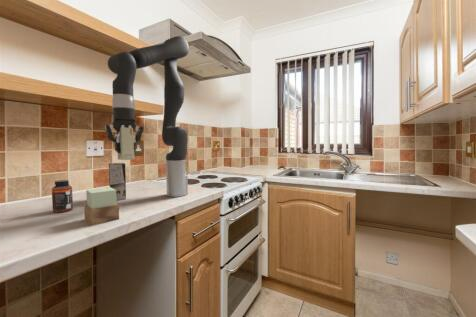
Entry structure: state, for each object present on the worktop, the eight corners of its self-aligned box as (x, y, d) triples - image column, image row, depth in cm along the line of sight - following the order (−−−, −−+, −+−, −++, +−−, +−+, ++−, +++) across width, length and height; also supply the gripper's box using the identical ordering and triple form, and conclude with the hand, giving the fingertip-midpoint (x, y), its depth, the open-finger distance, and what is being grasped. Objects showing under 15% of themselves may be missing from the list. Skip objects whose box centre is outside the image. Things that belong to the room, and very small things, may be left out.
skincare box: (134, 159, 85) (133, 127, 84) (122, 160, 82) (121, 127, 81) (128, 158, 89) (127, 128, 89) (117, 159, 86) (115, 128, 85)
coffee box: (126, 199, 100) (125, 163, 99) (110, 201, 96) (109, 164, 95) (124, 195, 107) (123, 162, 106) (109, 196, 104) (108, 162, 103)
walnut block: (111, 214, 79) (110, 200, 78) (119, 219, 73) (118, 204, 73) (84, 219, 73) (84, 205, 73) (91, 226, 68) (90, 210, 67)
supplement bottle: (74, 210, 83) (73, 180, 82) (54, 214, 78) (52, 182, 78) (71, 207, 87) (69, 178, 86) (51, 210, 82) (49, 180, 81)
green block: (110, 201, 78) (109, 187, 78) (116, 204, 73) (116, 190, 73) (86, 204, 73) (86, 189, 73) (91, 209, 68) (91, 193, 68)
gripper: (138, 110, 92) (140, 151, 93) (99, 106, 81) (101, 153, 83) (146, 108, 87) (148, 152, 88) (106, 104, 76) (108, 153, 78)
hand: (125, 152), depth 85 cm, fingers closed on skincare box, 4 cm apart
